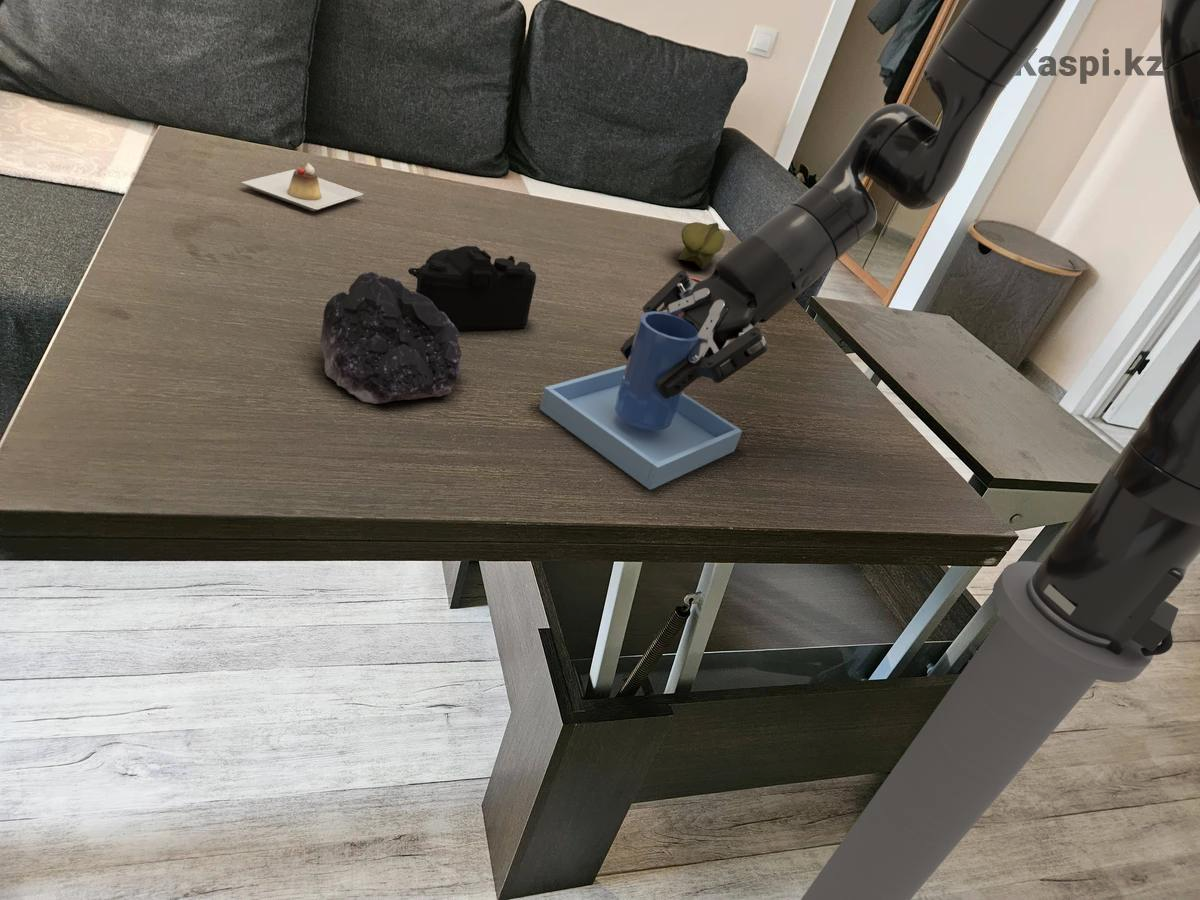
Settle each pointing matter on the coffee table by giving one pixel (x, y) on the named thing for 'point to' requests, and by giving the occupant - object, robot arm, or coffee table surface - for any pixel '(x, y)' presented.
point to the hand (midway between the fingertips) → (642, 373)
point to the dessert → (302, 189)
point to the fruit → (701, 243)
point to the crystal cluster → (388, 342)
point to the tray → (639, 429)
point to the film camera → (477, 288)
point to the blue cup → (653, 369)
